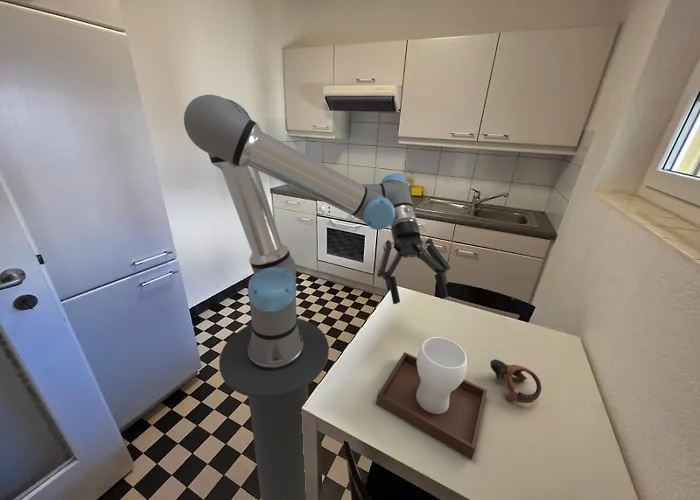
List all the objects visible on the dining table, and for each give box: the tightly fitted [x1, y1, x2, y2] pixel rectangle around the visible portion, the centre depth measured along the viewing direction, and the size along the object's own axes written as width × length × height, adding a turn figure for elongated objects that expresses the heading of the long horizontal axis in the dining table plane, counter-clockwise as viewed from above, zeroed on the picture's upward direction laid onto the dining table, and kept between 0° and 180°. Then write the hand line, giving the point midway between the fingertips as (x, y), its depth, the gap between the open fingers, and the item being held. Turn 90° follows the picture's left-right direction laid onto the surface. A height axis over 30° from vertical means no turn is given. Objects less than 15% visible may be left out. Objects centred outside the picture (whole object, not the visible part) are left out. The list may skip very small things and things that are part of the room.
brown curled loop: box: [490, 358, 542, 404], centre depth 71 cm, size 12×10×8 cm
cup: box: [416, 336, 468, 414], centre depth 64 cm, size 11×11×15 cm
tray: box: [375, 351, 488, 460], centre depth 67 cm, size 22×17×3 cm
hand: (421, 300), depth 71 cm, fingers open, 13 cm apart
